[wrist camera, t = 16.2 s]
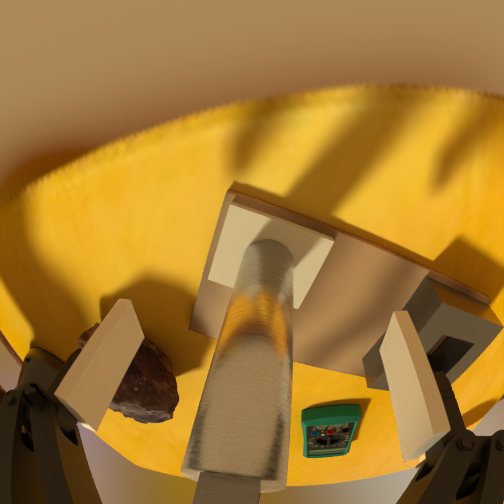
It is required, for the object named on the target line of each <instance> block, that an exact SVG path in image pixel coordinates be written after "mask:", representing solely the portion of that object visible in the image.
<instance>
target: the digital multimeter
mask: <svg viewBox="0 0 504 504" xmlns="http://www.w3.org/2000/svg"><path fill="white" fill-rule="evenodd" d="M360 419H361V411H360V405H358V404H354V405H332V406H323V407H316V408H310V409H304V410H302V415H301V424H302V429H303V436H304V447H303V456H304V457H306V458H323V457H334V456H341V455H346V454H347V453H348V452H349V450H350V446H351V442H352V439H353V435H354V433H355V430H356V428H357V425H358V423H359V421H360ZM318 444H319V445H318ZM332 444H333V445H332Z"/></svg>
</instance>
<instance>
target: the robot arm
mask: <svg viewBox="0 0 504 504" xmlns="http://www.w3.org/2000/svg"><path fill="white" fill-rule="evenodd" d="M143 339H144V334H143V332H142V329H141V326H140V324H139V321H138V318H137V315H136V313H135V310H134V307H133V304H132V301H131V300H130V299H122V298H119V299H118V301H117V302H116V303H115V305H114V306H113V307H112V309H111V310H110V311H109V313H108V314H107V315H106V317H105V318H104V320H103V321H102V322H101V324H100V325H99V327H98V328H97V329H96V331H95V332H94V334H93V335H92V336H91V338H90V339H89V341H88V342H87V344H86V345H85V347H84V348H83V350H82V349H77V350H76V351H75V352H74V353H72V354H71V355H70V357H69V358H68V360H67V361H66V364H64V363H63V362H62V361H60V360H59V359H57V358H56V357H55V356H53V355H52V354H50V353H48V352H46V351H45V350H42V349H40V348H36V347H33V348H31V349H30V350H29V352H28V353H27V354H26V356H25V358H24V361H23V365H22V368H21V372H20V376H19V380H18V383H17V386H16V388H15V389H14V390H9V391H8V392H6V391H5V390H4V389H3V388H2V386H1V385H0V504H102V501H101V499H100V496H99V494H98V491H97V489H96V486H95V483H94V480H93V478H92V474H91V471H90V468H89V465H88V462H87V459H86V455H85V452H84V448H83V444H82V441H81V437H80V433H79V429H78V427H77V425H76V424H77V422H78V421H79V422H80V423H81V424H82V425H83V426H84V427H86V428H88V429H90V430H93V431H95V432H97V430H98V427H99V425H100V423H101V421H102V419H103V417H104V415H105V413H106V411H107V409H108V407H109V405H110V403H111V401H112V399H113V397H114V395H115V393H116V391H117V389H118V387H119V385H120V383H121V381H122V379H123V377H124V375H125V373H126V371H127V369H128V367H129V365H130V363H131V361H132V360H133V358H134V356H135V354H136V352H137V350H138V348H139V346H140V345H141V343H142V341H143ZM380 354H381V358H382V361H383V365H384V369H385V373H386V377H387V381H388V386H389V390H390V394H391V399H392V404H393V408H394V413H395V418H396V424H397V429H398V435H399V441H400V447H401V453H402V460H403V461H408V460H412V459H416V458H419V457H420V456H422V455H423V454H424V453H425V457H426V459H424V460H423V461H422V462H420V463H419V464H418V465H417V466H416V467H415V468H419V467H420V468H419V470H418V471H417V473H416V475H415V476H414V478H413V479H412V481H411V482H410V484H409V486H408V487H407V489H406V490H405V492H404V493H403V494H402V496H401V497H400V499H399V500H398V502H397V503H396V504H503V501H504V430H499V431H497V432H496V433H494V434H493V435H492V436H476V435H475V434H474V433H473V432H472V431H470V430H467V429H466V428H465V425H464V422H463V419H462V416H461V413H460V410H459V407H458V404H457V401H456V398H455V395H454V392H453V391H452V387H451V384H450V381H449V379H448V378H447V377H446V375H445V374H444V373H443V372H442V371H439V372H432V369H431V367H430V364H429V361H428V359H427V356H426V354H425V351H424V349H423V346H422V344H421V341H420V339H419V336H418V334H417V332H416V329H415V327H414V325H413V323H412V320H411V318H410V316H409V314H408V311H393V314H392V317H391V320H390V323H389V326H388V329H387V331H386V334H385V337H384V339H383V342H382V345H381V347H380Z"/></svg>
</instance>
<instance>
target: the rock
mask: <svg viewBox="0 0 504 504" xmlns="http://www.w3.org/2000/svg"><path fill="white" fill-rule="evenodd" d="M99 325H100V324H99V323H96V324H95V325H94V326H93V327H92V328H90V329H89V330H87V331H85V332H84V333H83V334H82V335H81V336H80V338H79V340H78V341H79V345H80V348H81V349H83V348H84V347H85V345H86V344H87V342H88V341H89V339H90V338H91V336H92V335H93V334H94V332H95V331H96V329H97V328H98V327H99ZM178 402H179V395H178V392H177V382H176V378H175V377H174V375H173V374H172V364H171V362H170V361H169V360H168V358H167V357H166V355H164V354H163V353H161V352H159V351H158V347H157V346H156V345H154V344H151V343H149V342H147V340H146V339H143V341H142V343H141V345H140V346H139V348H138V350H137V352H136V354H135V356H134V358H133V360H132V361H131V363H130V365H129V367H128V369H127V371H126V373H125V375H124V377H123V379H122V381H121V383H120V385H119V387H118V389H117V391H116V393H115V395H114V397H113V399H112V401H111V403H110V405H109V407H108V408H110V409H112V410H113V411H115V412H116V411H118V412H121V413H122V414H123V415H124V416H125V417H129V418H133V419H135V420H136V421H138V422H140V423H145V424H147V423H160V422H164V421H167V420H169V419H172V418H173V412H174V410H175V407H176V406H177V404H178Z"/></svg>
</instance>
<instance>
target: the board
mask: <svg viewBox="0 0 504 504" xmlns="http://www.w3.org/2000/svg"><path fill="white" fill-rule="evenodd" d="M232 201H233V202H235V203H238V204H241V205H244V206H247V207H250V208H253V209H256V210H259V211H262V212H264V213H267V214H270V215H273V216H276V217H279V218H281V219H284V220H287V221H290V222H292V223H295V224H298V225H301V226H303V227H306V228H309V229H311V230H314V231H317V232H319V233H322V234H325V235H327V236H330V237H332V238H333V240H334V243H333V245H332V247H331V249H330V251H329V253H328V255H327V257H326V259H325V261H324V263H323V265H322V266H321V268H320V270H319V272H318V274H317V276H316V278H315V280H314V281H313V283H312V285H311V287H310V289H309V291H308V292H307V294H306V296H305V298H304V300H303V301H302V303H301V305H300V307H299V308H298V309H296V308H293V361H294V362H298V363H302V364H306V365H310V366H314V367H318V368H323V369H327V370H332V371H337V372H341V373H346V374H351V375H357V376H362V377H365V371H364V366H363V361H362V358H363V357H364V356H365V355H366V354H367V353H368V352H369V350H370V349H371V348H372V347H373V346H374V344H375V343H376V342H377V341H378V340H379V338H380V337H381V336H382V335H383V334H384V332H385V331H386V330H387V329H388V326H389V323H390V320H391V317H392V314H393V311H401V310H402V309H403V307H404V306H405V305H406V303H407V302H408V301H409V299H410V298H411V296H412V295H413V293H414V292H415V291H416V289H417V288H418V286H419V285H420V283H421V282H422V280H423V279H424V277H425V276H427V277H430V278H432V279H434V280H436V281H439V282H441V283H443V284H445V285H448V286H450V287H452V288H454V289H456V290H459V291H461V292H463V293H465V294H467V295H469V296H471V297H474V298H476V299H478V300H480V301H482V302H484V303H486V304H489V303H490V302H491V300H490V298H489V297H488V296H486V295H484V294H482V293H480V292H478V291H476V290H474V289H472V288H470V287H468V286H466V285H464V284H462V283H460V282H458V281H456V280H454V279H452V278H450V277H447V276H445V275H443V274H441V273H439V272H437V271H435V270H433V269H430V268H428V267H426V266H424V265H422V264H420V263H417V262H415V261H413V260H411V259H408V258H406V257H404V256H402V255H399V254H397V253H395V252H392V251H390V250H388V249H385V248H383V247H381V246H378V245H376V244H374V243H371V242H369V241H367V240H364V239H362V238H359V237H357V236H354V235H352V234H349V233H347V232H344V231H342V230H339V229H337V228H334V227H332V226H329V225H327V224H324V223H322V222H319V221H316V220H314V219H311V218H308V217H306V216H303V215H300V214H298V213H295V212H292V211H290V210H287V209H284V208H281V207H279V206H276V205H273V204H270V203H267V202H265V201H262V200H259V199H256V198H253V197H250V196H247V195H244V194H241V193H238V192H235V191H232V190H229V189H228V190H227V192H226V195H225V199H224V202H223V205H222V209H221V212H220V215H219V219H218V222H217V226H216V229H215V232H214V236H213V239H212V243H211V247H210V250H209V254H208V257H207V261H206V265H205V268H204V272H203V276H202V280H201V283H200V287H199V291H198V295H197V299H196V303H195V306H194V310H193V314H192V318H191V322H190V326H189V330H192V331H195V332H198V333H200V334H203V335H206V336H209V337H212V338H215V339H218V338H219V335H220V331H221V328H222V324H223V321H224V318H225V314H226V311H227V307H228V304H229V301H230V297H231V294H232V291H233V288H231V287H228V286H225V285H222V284H219V283H217V282H214V281H211V280H208V276H209V273H210V269H211V266H212V263H213V259H214V256H215V252H216V249H217V246H218V242H219V239H220V235H221V232H222V229H223V226H224V222H225V219H226V216H227V212H228V209H229V206H230V204H231V202H232ZM446 337H447V336H446V335H442V336H441V337H440V339H439V340H438V341H437V342H436V343H435V344H434V345H433V347H432V348H431V349H430V350H429V351H428V352H427V354H432V353H433V351H434V350H435V349H436V348H437V347H438V346H439V345H440V344H441V343H442V341H443V340H444V339H445V338H446Z"/></svg>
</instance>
